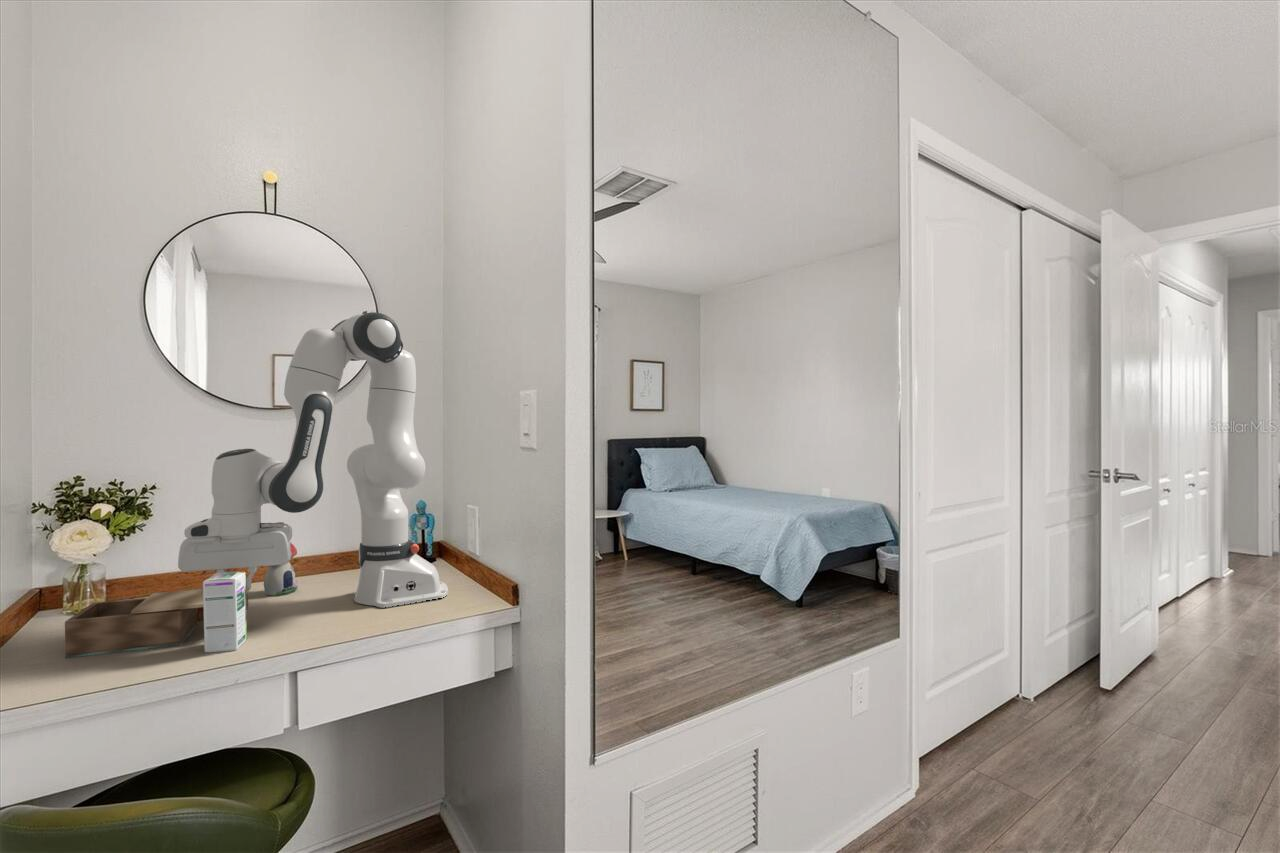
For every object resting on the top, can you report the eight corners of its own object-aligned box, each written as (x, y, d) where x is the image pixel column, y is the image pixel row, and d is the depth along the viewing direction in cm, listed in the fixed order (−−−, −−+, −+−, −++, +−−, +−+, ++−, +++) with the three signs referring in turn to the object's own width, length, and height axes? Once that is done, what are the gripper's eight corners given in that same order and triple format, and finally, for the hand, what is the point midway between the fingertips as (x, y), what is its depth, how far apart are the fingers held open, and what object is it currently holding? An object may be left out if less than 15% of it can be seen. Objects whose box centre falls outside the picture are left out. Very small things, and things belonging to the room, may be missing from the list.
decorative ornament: (271, 599, 150) (271, 539, 149) (253, 595, 152) (253, 537, 152) (305, 589, 159) (304, 533, 158) (287, 586, 161) (287, 530, 161)
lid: (251, 587, 136) (251, 567, 136) (239, 603, 125) (238, 581, 124) (152, 595, 129) (152, 574, 129) (130, 613, 118) (130, 590, 117)
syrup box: (237, 650, 119) (237, 578, 118) (202, 653, 117) (202, 580, 117) (247, 639, 124) (247, 570, 124) (214, 642, 123) (214, 572, 122)
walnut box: (197, 624, 132) (197, 593, 132) (180, 644, 121) (180, 610, 121) (93, 635, 125) (93, 602, 125) (65, 658, 114) (64, 621, 114)
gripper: (294, 519, 136) (294, 579, 136) (184, 524, 128) (185, 588, 129) (289, 524, 130) (290, 587, 131) (175, 530, 122) (175, 597, 123)
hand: (237, 587), depth 130 cm, fingers closed on lid, 2 cm apart
